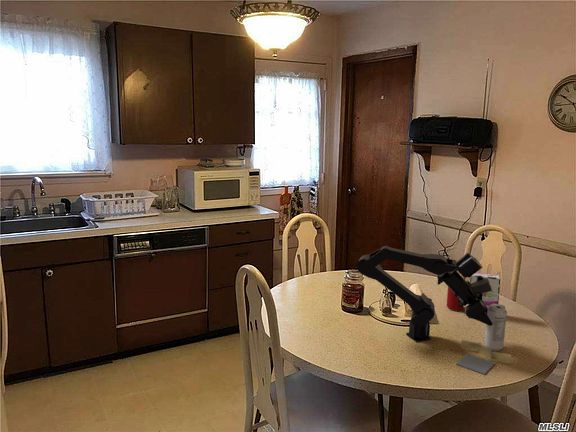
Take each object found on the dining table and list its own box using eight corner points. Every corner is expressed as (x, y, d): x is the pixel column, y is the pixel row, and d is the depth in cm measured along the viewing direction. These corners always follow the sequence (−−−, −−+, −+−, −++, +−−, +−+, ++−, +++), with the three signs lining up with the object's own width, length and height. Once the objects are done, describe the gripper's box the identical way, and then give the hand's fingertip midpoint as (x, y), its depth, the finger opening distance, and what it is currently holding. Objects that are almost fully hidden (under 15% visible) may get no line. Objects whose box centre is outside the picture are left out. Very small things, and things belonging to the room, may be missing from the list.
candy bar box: (497, 313, 193) (500, 274, 189) (497, 318, 188) (501, 278, 185) (467, 309, 197) (470, 271, 193) (467, 313, 192) (470, 274, 189)
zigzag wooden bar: (458, 349, 162) (459, 341, 161) (463, 346, 165) (463, 337, 164) (508, 366, 151) (509, 357, 151) (512, 362, 154) (513, 353, 153)
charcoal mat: (484, 374, 146) (484, 373, 146) (456, 364, 152) (456, 363, 152) (495, 364, 153) (495, 362, 152) (467, 354, 159) (467, 353, 158)
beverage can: (464, 312, 194) (467, 284, 191) (447, 310, 195) (449, 282, 193) (462, 306, 200) (464, 278, 198) (445, 304, 201) (447, 277, 199)
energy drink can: (497, 342, 167) (501, 302, 164) (506, 351, 161) (511, 309, 158) (480, 343, 166) (484, 303, 163) (490, 352, 160) (494, 310, 158)
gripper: (479, 279, 152) (514, 316, 151) (475, 263, 169) (506, 296, 168) (451, 300, 156) (485, 336, 155) (451, 282, 173) (481, 314, 172)
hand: (490, 319), depth 162 cm, fingers open, 9 cm apart
